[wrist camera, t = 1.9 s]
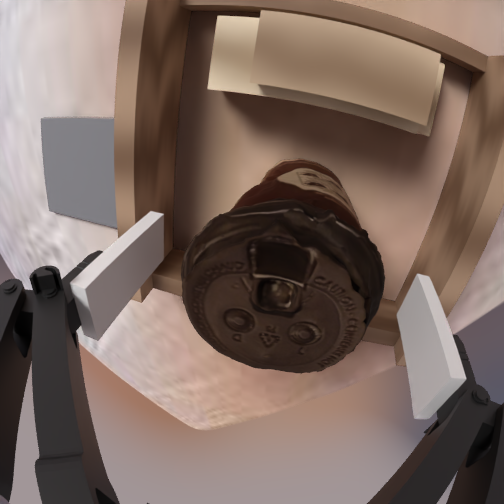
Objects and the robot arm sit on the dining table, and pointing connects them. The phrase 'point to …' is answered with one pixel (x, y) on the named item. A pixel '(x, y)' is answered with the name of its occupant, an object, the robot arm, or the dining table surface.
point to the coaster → (80, 167)
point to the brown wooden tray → (322, 6)
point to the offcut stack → (328, 67)
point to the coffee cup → (284, 273)
